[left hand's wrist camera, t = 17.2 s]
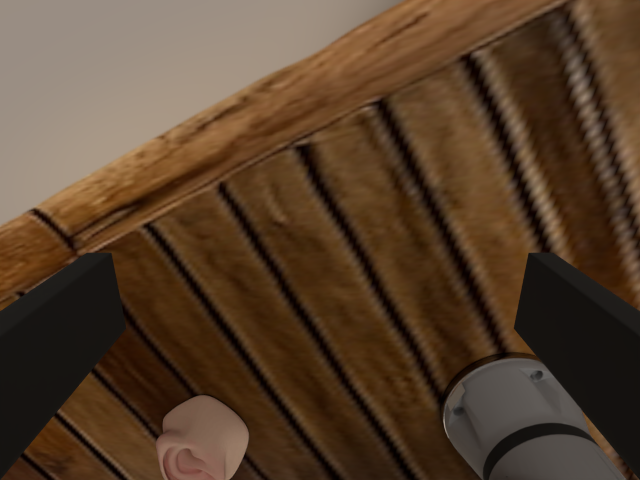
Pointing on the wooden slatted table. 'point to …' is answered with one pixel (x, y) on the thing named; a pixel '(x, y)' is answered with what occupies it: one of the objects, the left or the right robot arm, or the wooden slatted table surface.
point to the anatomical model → (201, 441)
